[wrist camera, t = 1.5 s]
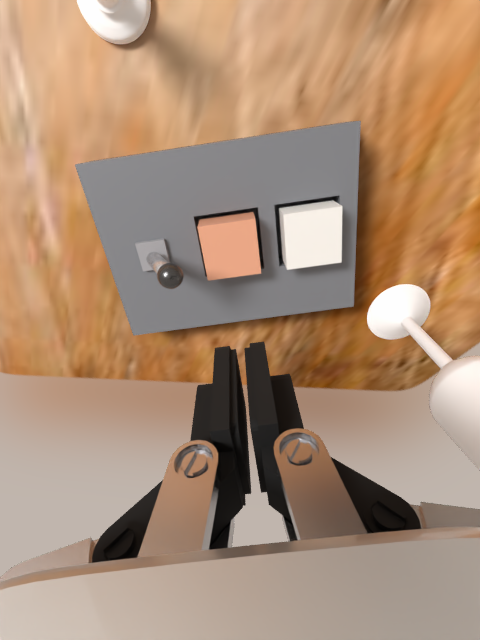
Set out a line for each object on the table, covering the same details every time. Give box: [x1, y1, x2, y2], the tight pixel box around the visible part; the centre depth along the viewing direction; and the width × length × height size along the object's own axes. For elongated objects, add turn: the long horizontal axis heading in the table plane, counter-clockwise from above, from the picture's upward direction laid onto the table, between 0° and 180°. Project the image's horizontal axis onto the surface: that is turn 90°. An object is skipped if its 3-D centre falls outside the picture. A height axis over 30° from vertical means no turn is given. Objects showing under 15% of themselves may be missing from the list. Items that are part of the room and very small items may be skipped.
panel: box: [75, 121, 361, 335], centre depth 29 cm, size 21×15×4 cm
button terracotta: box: [197, 212, 261, 281], centre depth 27 cm, size 4×4×2 cm
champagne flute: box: [367, 284, 480, 470], centre depth 25 cm, size 7×7×24 cm
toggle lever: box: [146, 252, 184, 289], centre depth 25 cm, size 2×2×6 cm
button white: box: [279, 200, 342, 270], centre depth 27 cm, size 4×4×2 cm
